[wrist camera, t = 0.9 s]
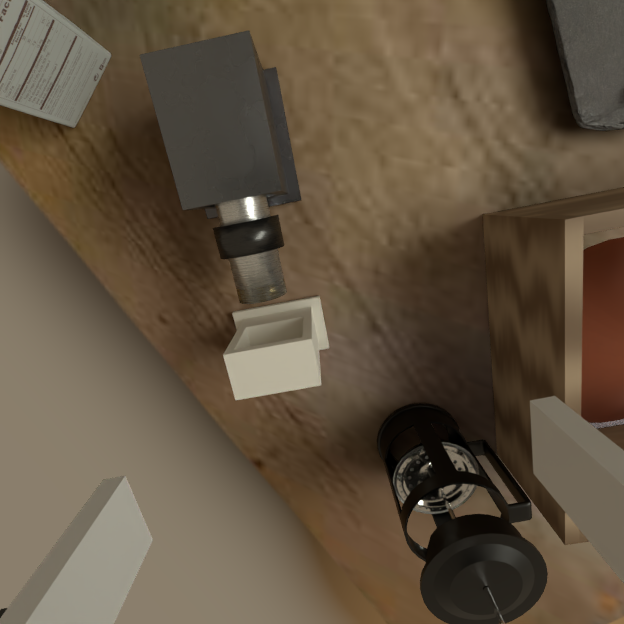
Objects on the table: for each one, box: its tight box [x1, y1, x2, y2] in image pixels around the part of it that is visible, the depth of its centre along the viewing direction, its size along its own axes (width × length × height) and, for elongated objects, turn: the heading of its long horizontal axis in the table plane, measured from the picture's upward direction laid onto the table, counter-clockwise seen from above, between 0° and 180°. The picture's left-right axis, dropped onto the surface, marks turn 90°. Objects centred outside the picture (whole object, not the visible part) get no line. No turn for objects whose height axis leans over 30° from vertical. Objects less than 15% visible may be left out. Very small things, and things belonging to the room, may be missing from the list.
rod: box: [213, 194, 287, 304], centre depth 29 cm, size 16×5×5 cm, turn 11°
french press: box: [377, 403, 547, 624], centre depth 32 cm, size 12×9×23 cm
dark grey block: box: [140, 31, 301, 219], centre depth 29 cm, size 11×9×10 cm
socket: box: [223, 296, 329, 400], centre depth 34 cm, size 6×9×10 cm, turn 101°
